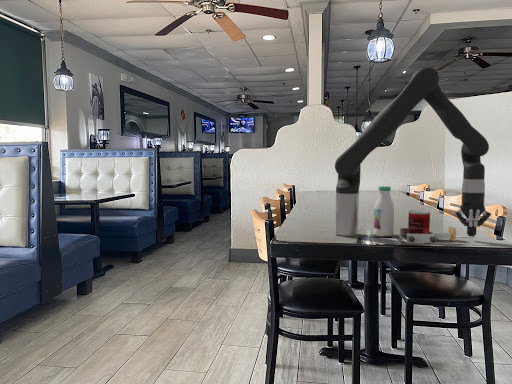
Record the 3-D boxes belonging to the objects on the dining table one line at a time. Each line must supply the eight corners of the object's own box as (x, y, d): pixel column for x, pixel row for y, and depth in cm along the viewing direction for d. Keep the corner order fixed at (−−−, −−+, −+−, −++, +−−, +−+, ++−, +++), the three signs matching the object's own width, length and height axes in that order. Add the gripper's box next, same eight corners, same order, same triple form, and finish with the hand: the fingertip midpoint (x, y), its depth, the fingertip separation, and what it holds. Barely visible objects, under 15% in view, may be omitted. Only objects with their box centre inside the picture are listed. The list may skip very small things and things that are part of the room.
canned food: (425, 237, 155) (426, 210, 154) (432, 241, 147) (433, 212, 146) (405, 237, 156) (406, 209, 155) (411, 241, 148) (412, 212, 147)
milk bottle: (393, 233, 163) (394, 186, 161) (393, 237, 156) (394, 187, 154) (374, 232, 165) (375, 185, 164) (373, 236, 158) (374, 187, 157)
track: (406, 242, 145) (406, 242, 145) (397, 235, 160) (397, 234, 160) (489, 245, 141) (489, 244, 141) (472, 237, 156) (472, 236, 156)
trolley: (407, 242, 145) (408, 230, 144) (399, 234, 160) (399, 223, 159) (460, 243, 142) (461, 231, 142) (446, 235, 157) (447, 224, 157)
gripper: (458, 191, 144) (456, 237, 146) (496, 192, 142) (494, 238, 144) (451, 190, 152) (449, 234, 153) (487, 190, 150) (485, 234, 151)
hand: (471, 236), depth 148 cm, fingers closed
